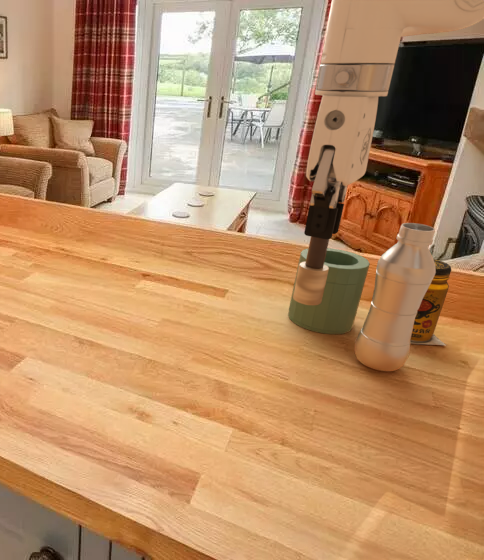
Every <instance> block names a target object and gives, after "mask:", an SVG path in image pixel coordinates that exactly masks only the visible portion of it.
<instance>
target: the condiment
mask: <svg viewBox="0 0 484 560" xmlns="http://www.w3.org/2000/svg"><path fill="white" fill-rule="evenodd" d="M433 260H434V262H435V269H436V273H435V275H434V278H433V280H432V282H431V284H430V286H429V288H428V289H427V291H426V293H425V295H424V297H423V299H422V302H421V304H420V307H419V309H418V310H417V314H416V317H415V320H414V325H413V330H412V334H411V339H410V340H411V342H410V345H428V346H435V345H437V346H447V344H446V343H444V342H443V341H442V340H441V339H440V338H439V337H437V336H436V335H435V331H436V327H437V325H438V322H439V319H440V316H441V313H442V309H443V308H444V307H443V306H444V303H445V300H446V297H447V295H448V291H449V289H450V285H449V283H448V281H449V280H450V275H451V273H452V267H451V265H450V264H449V263H447V262H445V261H442V260H439V259H434V258H433Z"/></svg>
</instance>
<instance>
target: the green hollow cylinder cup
mask: <svg viewBox="0 0 484 560" xmlns="http://www.w3.org/2000/svg"><path fill="white" fill-rule="evenodd" d="M307 253H308V248H305V249H303V250H302V251H300V255H299V259H298V263H297V269H296V273H295V278H294V282H293V288H292V291H291V297H290V302H289V307H288V313H287V316H288V318H289V319H290V321H291V322H293V323H294V324H295V325H296V326H299V327H301V328H303V329H306V330H308V331H311V332H314V333H319V334H324V335H325V334H326V335H342V334H346V333H348V332H350V331H352V330H353V326H354V323H355V321H356V318H357V317H356V316H357V312H358V310H359V306H360V301H361V298H362V295H363V290H364V288H365V283H366V279H367V275H368V272H369V269H370V265H371V264H370V262H369V260H368V259H367V258H365V257H364V256H362V255H360V254H357V253H355V252H351V251H348V250H344V249H339V248H332V247H327V252H326V257H325V261H324V265H326V266H328V267H329V271H328V275H327V280H326V284H325V289H324V293H323V298H322V302H321V304H319V305H305V304H302V303H299V302H297V301H295V300H294V299H293V295H294V290H295V285H296V279H297V274H298V269H299V264H300V263H301V262H306V258H307Z"/></svg>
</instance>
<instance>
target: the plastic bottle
mask: <svg viewBox="0 0 484 560" xmlns="http://www.w3.org/2000/svg"><path fill="white" fill-rule="evenodd" d="M435 233H436V228H435V227H433V226H430V225H427V224H423V223H415V222H404V223H401V225H400V228H399V231H398V233H397V235H396V240H397V243H395V244H394V245H393V246H391V247H389V248H388V249H387V250H386V251H385V252H384V253H383V254H381V256H380V257H379V259H378V260H377V263H376V270H375V277H374V278H375V279H374V289H373V293H372V298H371V299H372V300H371V302H370V307H369V309H368V313H367V316H366V317H365V320H364V323H363V325H362V327H361V329H360V331H359V332H358V334H357V336H356V338H355V341H354V350H353V351H354V354H355V356H356V359H357V360H358V362H359V363H361V364H362V365H364V366H366V367H368V368H370V369H373V370H376V371H379V372H380V371H381V372H395V371H397V370H399V369H401V368H402V367H404V365H405V364H406V362H407V361H408V359H409V357H410V351H411V343H410V342H411V340H410V339H411V334H412V330H413V325H414V320H415V317H416V314H417V310H418V309H419V307H420V304H421V302H422V299H423V297H424V295H425V293H426V291H427V289H428V288H429V286H430V284H431V282H432V280H433V278H434V275H435V273H436V269H435V262H434V260H433V259H434V257H433V254H432V253H431V251H430V249H429V246H432V244H433V242H434V236H435Z"/></svg>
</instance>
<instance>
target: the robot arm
mask: <svg viewBox="0 0 484 560" xmlns="http://www.w3.org/2000/svg"><path fill="white" fill-rule="evenodd" d="M327 20H328V21H327V25H326V31H325V37H324V42H323V48H322V52H321V59H320V64H319V69H318V74H317V79H316V84H315V85H316V86H315V91H314V96H315V95H316V96H322V97H321V101H320V104H319V108H318V111H317V115H316V116H317V117H316V119H315V120H316V121H315V124H314V129H313V133H312V139H311V142H310V147H309V153H308V158H307V165H306V170H305V171H306V173H305V177H306V179H307V180H308V181H309V182H313V185H312V188H311V197H310V201H309V206H308V211H307V217H306V222H305V227H304V232H303V233H304V235H305V236H307V237H310V238H311V237H316V238H321V239H327V240H328V239H329V240H331V239H332V237H333V235H335V234H336V235H337V234H338V233H339V230H340V226H341V225H340V224H341V220H342V217H343V212H344V207H345V203H344V202H345V200H346V196H347V192H348V191H347V190H348V186H350V185H352V184H353V183H355V182H356V181H358V180H359V179H361V178H363V176H365V174H366V172H367V168H368V162H369V158H370V153H371V147H372V141H373V136H374V131H375V125H376V120H377V114H378V105H379V97H388V94H389V89H390V86H391V81H392V77H393V73H394V69H395V64H396V60H397V56H398V52H399V51H398V50H399V47H400V43H401V39H402V38H403V37H413V36H419V35H434V34H440V33H441V34H442V33H449V32H456V31H459V30H463V29H466V28H470V27H472V26H474V25H476V24H479V23H480V22H481V21H484V0H331V3H330V9H329V15H328V19H327ZM331 191H332V192H331ZM338 194H339V197H338ZM337 199H338V201H337ZM336 203H337V206H336ZM335 207H336V208H335Z"/></svg>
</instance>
